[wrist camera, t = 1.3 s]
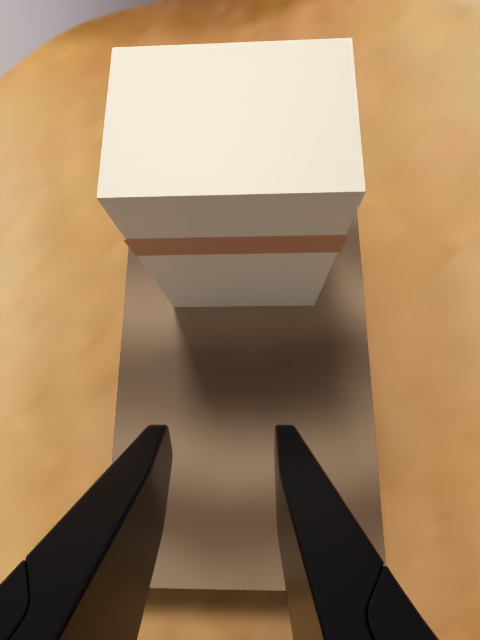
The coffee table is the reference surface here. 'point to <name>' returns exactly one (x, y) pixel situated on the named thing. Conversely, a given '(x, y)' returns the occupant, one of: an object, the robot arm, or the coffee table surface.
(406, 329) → the coffee table surface
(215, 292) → the card box
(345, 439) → the plate
